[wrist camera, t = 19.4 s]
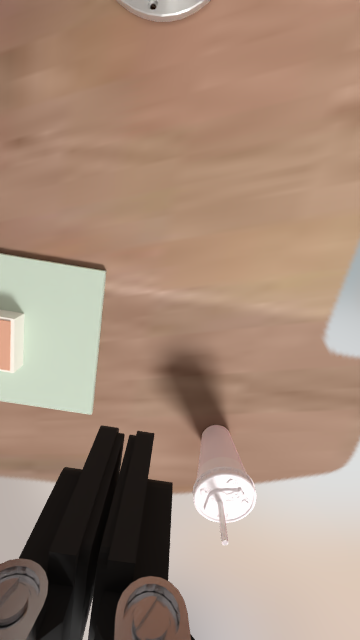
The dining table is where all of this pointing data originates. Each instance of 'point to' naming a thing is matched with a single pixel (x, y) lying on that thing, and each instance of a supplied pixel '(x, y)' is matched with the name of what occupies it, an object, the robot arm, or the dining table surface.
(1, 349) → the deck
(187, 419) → the dining table surface
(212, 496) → the smoothie
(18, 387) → the mat
